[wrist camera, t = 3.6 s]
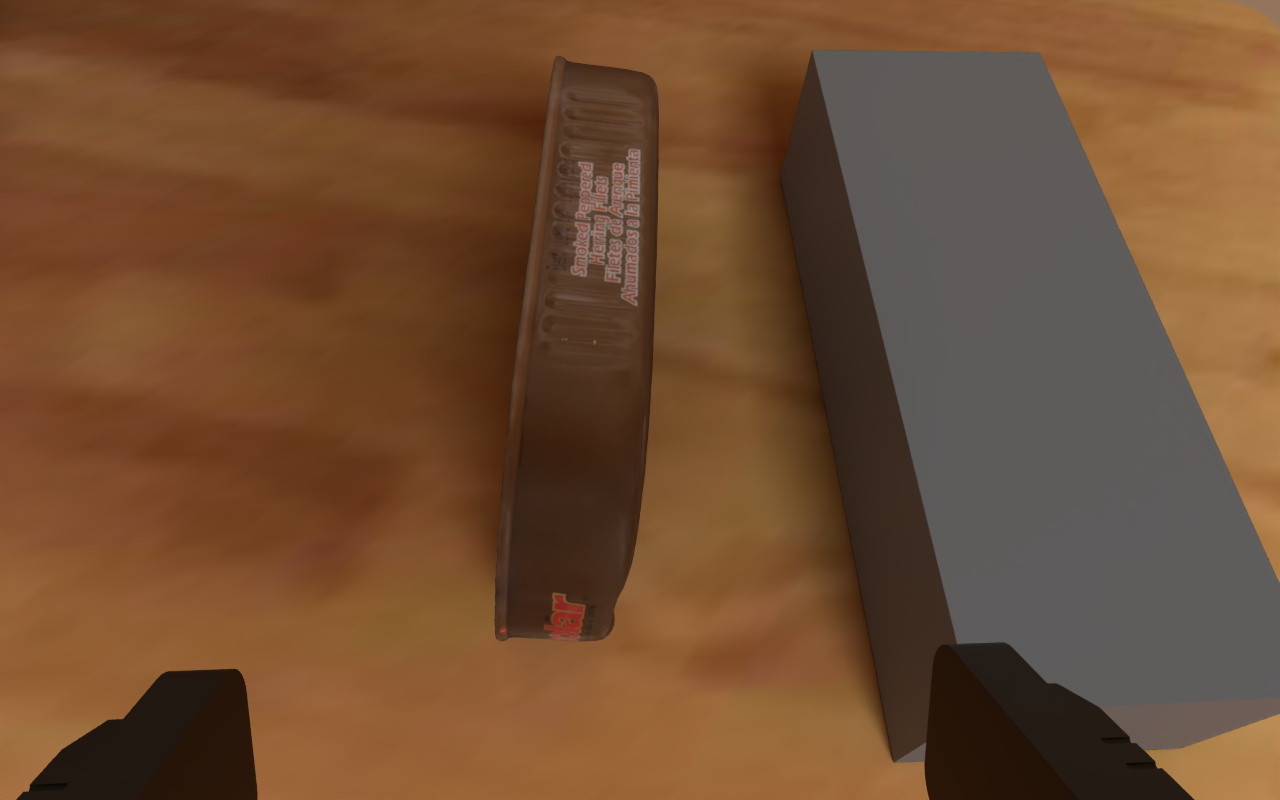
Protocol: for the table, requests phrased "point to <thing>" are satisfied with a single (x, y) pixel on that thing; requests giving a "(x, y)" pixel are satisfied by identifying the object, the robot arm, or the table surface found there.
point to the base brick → (1014, 406)
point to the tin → (582, 361)
